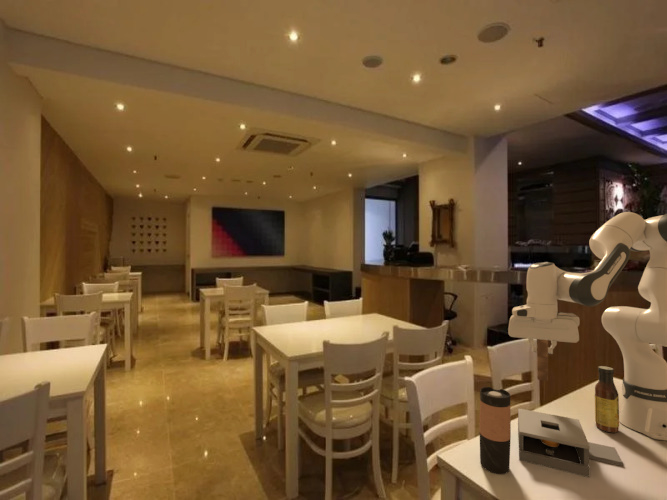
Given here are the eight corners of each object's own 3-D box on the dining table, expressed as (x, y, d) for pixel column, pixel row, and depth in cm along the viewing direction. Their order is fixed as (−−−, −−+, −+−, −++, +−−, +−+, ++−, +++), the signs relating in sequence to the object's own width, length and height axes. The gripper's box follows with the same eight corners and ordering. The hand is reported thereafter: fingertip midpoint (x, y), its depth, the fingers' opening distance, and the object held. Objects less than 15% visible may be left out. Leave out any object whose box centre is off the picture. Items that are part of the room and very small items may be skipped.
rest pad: (614, 450, 102) (614, 447, 102) (622, 466, 95) (622, 462, 95) (581, 443, 106) (581, 440, 106) (586, 457, 98) (586, 454, 98)
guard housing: (578, 446, 104) (578, 419, 104) (589, 477, 90) (589, 446, 90) (518, 433, 111) (518, 408, 111) (519, 460, 97) (519, 431, 97)
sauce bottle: (623, 434, 111) (623, 372, 111) (601, 432, 112) (601, 370, 112) (611, 424, 117) (612, 365, 117) (590, 422, 119) (591, 364, 119)
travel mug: (493, 477, 90) (493, 399, 90) (473, 460, 97) (473, 388, 97) (517, 472, 92) (517, 396, 92) (495, 455, 99) (496, 385, 99)
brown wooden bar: (547, 377, 117) (546, 330, 117) (548, 380, 114) (547, 332, 114) (536, 376, 118) (536, 329, 118) (537, 379, 116) (537, 331, 116)
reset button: (558, 440, 102) (558, 432, 102) (560, 448, 98) (560, 439, 98) (540, 437, 104) (540, 428, 104) (541, 444, 100) (541, 435, 100)
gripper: (577, 311, 114) (578, 353, 114) (508, 307, 124) (508, 346, 124) (581, 315, 109) (581, 359, 109) (508, 310, 118) (508, 351, 118)
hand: (542, 352), depth 116 cm, fingers closed on brown wooden bar, 3 cm apart
